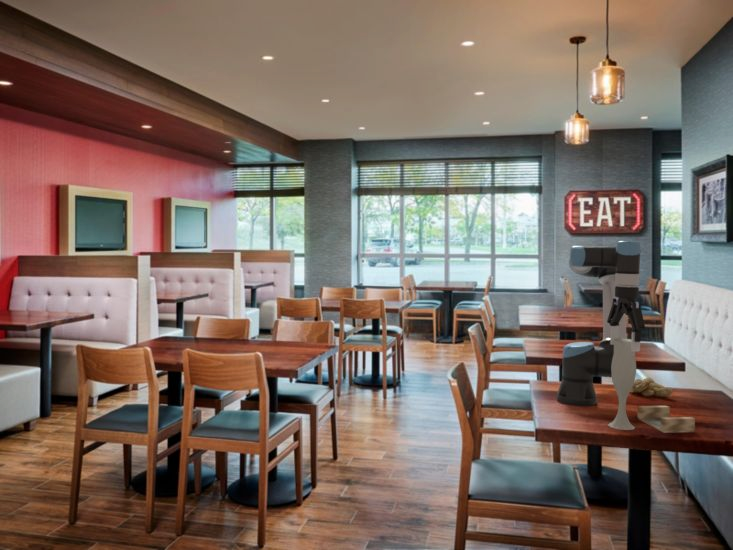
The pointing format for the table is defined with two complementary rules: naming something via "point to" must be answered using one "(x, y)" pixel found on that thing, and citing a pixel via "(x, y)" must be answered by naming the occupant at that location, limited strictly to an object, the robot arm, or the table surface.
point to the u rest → (665, 419)
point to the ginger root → (650, 388)
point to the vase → (623, 380)
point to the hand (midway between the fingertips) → (624, 347)
